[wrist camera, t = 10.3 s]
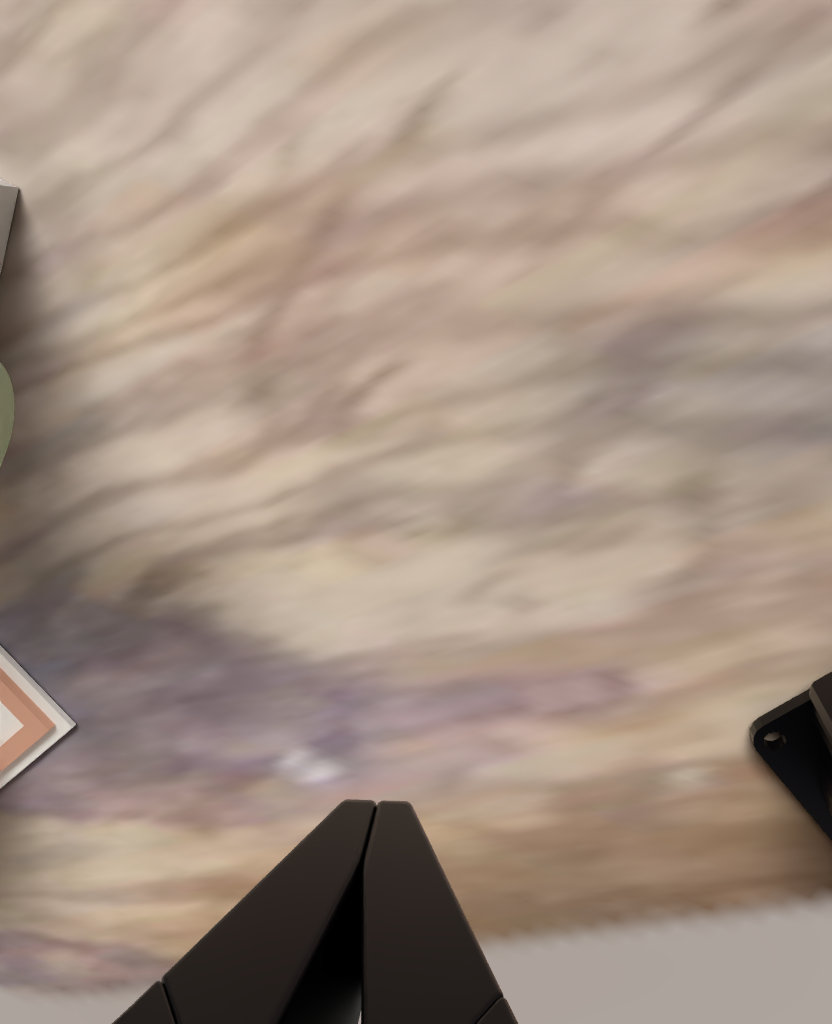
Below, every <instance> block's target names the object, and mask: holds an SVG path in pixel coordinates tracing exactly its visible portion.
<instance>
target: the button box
mask: <svg viewBox="0 0 832 1024" xmlns="http://www.w3.org/2000/svg"><path fill="white" fill-rule="evenodd" d="M18 189H19V187H17V186H14V185H12V184H10V183H8V182H6V181H4V180H2V179H0V274H1V270H2V265H3V260H4V256H5V251H6V246H7V241H8V237H9V232H10V227H11V222H12V218H13V213H14V208H15V204H16V199H17V194H18Z"/></svg>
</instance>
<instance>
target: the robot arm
mask: <svg viewBox="0 0 832 1024" xmlns="http://www.w3.org/2000/svg"><path fill="white" fill-rule="evenodd" d="M772 732H778V733H781V734H782V735H781V737H780V738H779V739H777V740H774V741H768V740H765V739H764V738H765V736H766V735H767V734H768V733H772ZM750 737H751V739H752V742H753V745H754V747H755V749H756V750H757V752H758V753H759V754H760V755H761V757H762V758H763V759H764V760H765V761H766V763H767V764H768V765H769V766H770V767H771V769H772V770H773V771H774V772H775V773H776V775H777V776H778V777H779V778H780V779H781V781H782V782H783V783H784V784H785V785H786V786H787V788H788V789H789V790H790V791H791V792H792V794H793V795H794V796H795V797H796V798H797V800H798V801H799V802H800V803H801V804H802V806H803V807H804V808H805V809H806V810H807V812H808V813H809V814H810V815H811V816H812V817H813V819H814V820H815V821H816V822H817V823H818V825H819V826H820V827H821V828H822V829H823V831H824V832H825V833H826V834H827V835H828V837H829V838H830V839H831V840H832V672H830V673H829V674H827V675H825V676H823V677H822V678H820V679H818V680H816V681H815V682H813V684H812V686H811V688H810V689H808V690H807V691H805V692H803V693H801V694H800V695H798V696H796V697H794V698H792V699H791V700H789V701H787V702H785V703H784V704H782V705H780V706H778V707H777V708H775V709H773V710H771V711H769V712H768V713H766V714H764V715H762V716H761V717H759V718H758V719H757V720H755V721H754V722H753V724H752V726H751V728H750ZM360 1012H361V1024H518V1022H517V1020H516V1018H515V1016H514V1014H513V1012H512V1010H511V1008H510V1006H509V1004H508V1002H507V1000H506V999H505V998H503V993H502V991H501V989H500V988H499V985H498V983H497V981H496V979H495V977H494V975H493V973H492V971H491V968H490V966H489V964H488V962H487V960H486V958H485V956H484V954H483V952H482V950H481V948H480V946H479V943H478V941H477V939H476V937H475V935H474V933H473V931H472V929H471V927H470V925H469V923H468V921H467V919H466V917H465V914H464V912H463V910H462V908H461V906H460V904H459V902H458V900H457V898H456V896H455V894H454V892H453V890H452V888H451V885H450V883H449V881H448V879H447V877H446V875H445V873H444V871H443V869H442V867H441V865H440V863H439V861H438V858H437V856H436V854H435V852H434V850H433V848H432V846H431V844H430V842H429V840H428V838H427V836H426V834H425V832H424V829H423V827H422V825H421V823H420V821H419V819H418V817H417V815H416V813H415V811H414V809H413V807H412V805H411V804H410V803H409V802H406V801H381V802H379V803H378V805H376V803H375V802H374V801H372V800H349V799H348V800H345V801H343V802H341V803H340V804H339V805H338V806H337V807H336V808H335V809H334V810H333V811H332V812H331V813H330V814H329V815H328V816H327V817H326V818H325V819H324V820H323V821H322V822H321V823H320V824H319V825H318V826H317V827H316V828H315V829H314V830H313V831H312V832H310V833H309V834H308V835H307V836H306V837H305V838H304V839H303V840H302V841H301V842H300V843H299V844H298V845H297V846H296V847H295V848H294V849H293V850H292V851H291V852H290V853H289V854H288V855H287V856H286V857H285V858H284V859H283V860H282V861H281V862H280V863H279V864H278V865H277V866H276V867H275V868H274V869H273V870H272V871H270V872H269V873H268V874H267V875H266V876H265V877H264V878H263V879H262V880H261V881H260V882H259V883H258V884H257V885H256V886H255V887H254V888H253V889H252V890H251V891H250V892H249V893H248V894H247V895H246V896H245V897H244V898H243V899H242V900H241V901H240V902H239V903H238V904H237V905H236V906H235V907H234V908H233V909H232V910H231V911H229V912H228V913H227V914H226V915H225V916H224V917H223V918H222V919H221V920H220V921H219V922H218V923H217V924H216V925H215V926H214V927H213V928H212V929H211V930H210V931H209V932H208V933H207V934H206V935H205V936H204V937H203V938H202V939H201V940H200V941H199V942H198V943H197V944H196V945H195V946H194V947H193V948H192V949H191V950H190V951H188V952H187V953H186V954H185V955H184V956H183V957H182V958H181V959H180V960H179V961H178V962H177V963H176V964H175V965H174V966H173V967H172V968H171V969H170V970H169V971H168V972H167V973H166V974H165V975H164V976H163V977H162V982H160V981H157V982H155V983H154V984H153V985H152V986H151V987H150V988H149V989H148V990H147V991H146V992H145V993H144V994H143V995H142V996H141V997H140V998H139V999H138V1000H137V1001H136V1002H135V1003H134V1004H133V1005H132V1006H130V1007H129V1008H128V1009H127V1010H126V1011H125V1012H124V1013H123V1014H122V1015H121V1016H120V1017H119V1018H117V1019H116V1020H115V1021H114V1022H113V1023H112V1024H358V1021H359V1016H360Z"/></svg>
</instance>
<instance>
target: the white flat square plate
mask: <svg viewBox="0 0 832 1024" xmlns="http://www.w3.org/2000/svg"><path fill="white" fill-rule="evenodd" d="M75 725H76V723H75V722H74V721H73V720H72V719H71V718H70V717H69V716H68V715H67V714H66V713H65V712H64V711H63V710H62V709H61V708H60V707H59V706H58V705H57V704H56V703H55V702H54V701H53V699H52V698H51V697H50V696H49V695H48V694H47V693H46V692H45V691H44V690H43V689H42V688H41V687H40V686H39V685H38V684H37V683H36V682H35V681H34V680H33V679H32V678H31V677H30V676H29V675H28V673H27V672H26V671H25V670H24V669H23V668H22V667H21V666H20V665H19V664H18V663H17V662H16V661H15V660H14V659H13V658H12V657H11V656H10V655H9V654H8V653H7V652H6V651H5V650H4V649H3V647H2V646H1V645H0V788H2V787H3V786H4V785H5V784H6V783H8V782H9V781H10V780H11V779H12V778H13V777H15V776H16V775H17V774H18V773H19V772H21V771H22V770H23V769H24V768H25V767H27V766H28V765H29V764H30V763H31V762H32V761H34V760H35V759H36V758H37V757H38V756H40V755H41V754H42V753H43V752H44V751H46V750H47V749H48V748H49V747H50V746H51V745H53V744H54V743H55V742H56V741H57V740H59V739H60V738H61V737H62V736H63V735H65V734H66V733H67V732H68V731H69V730H70V729H72V728H73V727H74V726H75Z"/></svg>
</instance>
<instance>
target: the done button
mask: <svg viewBox="0 0 832 1024" xmlns="http://www.w3.org/2000/svg"><path fill="white" fill-rule="evenodd" d="M14 413H15V401H14V392H13V387H12V384H11V380H10V377H9V375H8V373H7V371H6V369H5V368H4V366H3V365H2V364H1V362H0V466H1V464H2V462H3V459H4V457H5V454H6V451H7V448H8V445H9V441H10V438H11V434H12V429H13V423H14Z"/></svg>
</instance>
